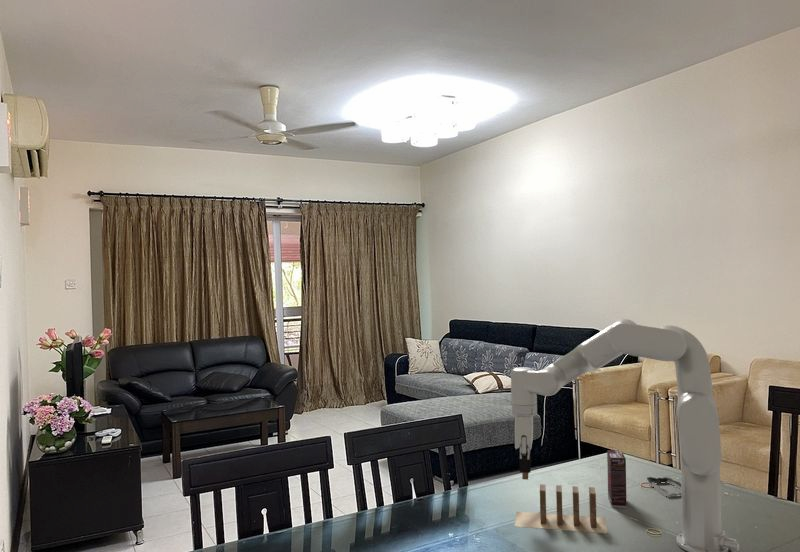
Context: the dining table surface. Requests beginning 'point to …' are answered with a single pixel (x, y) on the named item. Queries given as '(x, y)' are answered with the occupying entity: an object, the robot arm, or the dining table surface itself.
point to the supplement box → (616, 478)
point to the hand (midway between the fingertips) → (525, 468)
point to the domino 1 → (525, 475)
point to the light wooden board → (551, 522)
